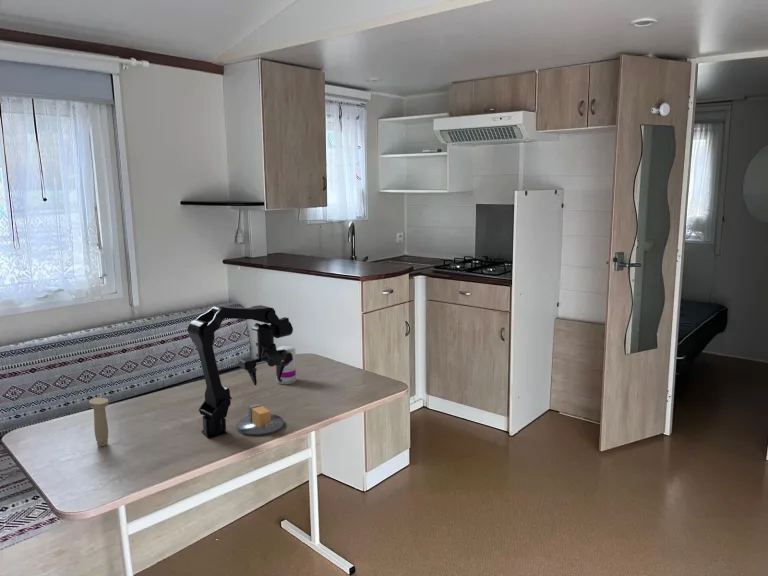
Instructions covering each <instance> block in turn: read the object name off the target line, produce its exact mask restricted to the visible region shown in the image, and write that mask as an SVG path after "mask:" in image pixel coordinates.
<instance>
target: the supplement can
mask: <svg viewBox="0 0 768 576" xmlns="http://www.w3.org/2000/svg"><path fill="white" fill-rule="evenodd" d="M276 349H277V350H283V349H285V350H286V351H288V352H290V353H292V355H293V360H292V361H289V362H290V363H288V364H287V365H286V366H285V367H284V369H283V372H282V375H281V378H280V380H278V379H277V373H276V372H275V375H276V376H275V379H276V382H277V383H278V384H280V385H291V384H294V383H295V382H296V380H297V368H296V367H297V365H296V349H295V347H294V346H293V345H291V344H283V345H278V346H276Z"/></svg>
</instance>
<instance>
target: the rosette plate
mask: <svg viewBox="0 0 768 576" xmlns="http://www.w3.org/2000/svg"><path fill="white" fill-rule="evenodd" d="M270 419H271V422H269V423H266V424H264V427H262V428H259V427H258V426H257V425H255V424H254V423H253V422H252V421H250V420H249V418H248V415H247V416H244V417H242V418H241V419H239V420H238V421H237V422H236V430H237V432H238V433H240V434H242V435H244V436H250V437H256V436H257V437H262V436H267V435H272V434H274V433H277V432H279V431H281V430H282V429H283V427H284V423H285V420H284V419H283V417H282V416H280V415H278V414H273V413H270Z"/></svg>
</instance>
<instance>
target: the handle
mask: <svg viewBox="0 0 768 576" xmlns="http://www.w3.org/2000/svg"><path fill="white" fill-rule="evenodd" d="M88 403H89V406H90V407H91V408H92V409H93V421H94V422H93V425H94V428H93V429H94V436H95V437H94V438H95V441H96V445H97V447H98V446H100V447H101V446H104V447H106V446H107V445H108V444H109V426H108V419H107V413H106V407H108V405H109V399H108V398H106V397H94V398H92V399H89V401H88ZM109 406H110V405H109ZM91 408H90V409H91ZM105 445H106V446H105Z"/></svg>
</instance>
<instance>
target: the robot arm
mask: <svg viewBox="0 0 768 576" xmlns="http://www.w3.org/2000/svg"><path fill="white" fill-rule="evenodd" d="M225 319H229V320H230V319H234V320H235V319H237V320H254V321H256V322H255V324H254V325H253V326H252V327H251V331H256V335H257V336H256V338H257V339H256V341H257V342H255V345H256V347H257V353H256V358H253V357H251V356H248V357H242V358H240V359H239V361H238V366H239V367H240V368H241V369H243V370H245V371H246V372H247V373H248V375H249V376H250V379H251V381H252V383H253V386H257V384H258V381H257V380H258V379H257V370H258V368H257V365H260V364H265V363H266V364H267V365H268V366H269V367H270V368H271V367H275V374H276V373H277V379H278V380H280V378H281V375H282V372H283V369H284V367H285V366H286V365H287V364H288V363H290V362H289V361H292V360H293V355H292V353H290V352H288V351H286V350H285V349H283V350H277V346H276V343H275V339H280V338H284V337H287V336H291V335H292V334H293V331H294V328H293V325H292V323H291V321H290V318H289V317H286V316H285V317H281V318H279V316H278V315H277V313H276V309H275V308H274V307H270V306H267V305H263V304H260V305H252V306H250V307H240V306H224V305H223V306H222V305H214V306H212V307H211V308H210V309H209V310H207V311H206V312H203V313H202V314H200V315H199V316H198V317H196V319H194V320H192V321H191V322H189V324H188V326H187V333H188V335H189V337H190V340H191V341H192V343H193V344H194V346H195V347H196V348H197V352H198V357H199V360H200V361H199V362H200V365H201V368H202V373H203V376H204V377H203V378H204V381H205V385H206V389H205V392H204V401H203V402H202V404H201V405H200V407H199V408H198V412H199V414H200V415H202V428H203V429H202V430H201V433H202V434H203V435H204V436H205V437H206V438H208V439H212V438H215V437H219V436H222V435H226V434H227V433H228V432H227V431H226V430H227V422H226V421H227V420H226V417H227V414H228V413H229V412H228V411H229V409H230V406H231V402H232V401H231V400H232V399H233V398H232V396H231V392H230V388H229V387H227V386H225V385H223V384H222V381H221V377H220V372H219V368H218V363H217V360H216V355H215V351H214V346H213V345H214V343H215V338H216V336H215V332H216V331H218V330H219V328H220V327H221V325H222V322H223V321H224V320H225ZM260 322H261V323H260Z"/></svg>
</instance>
